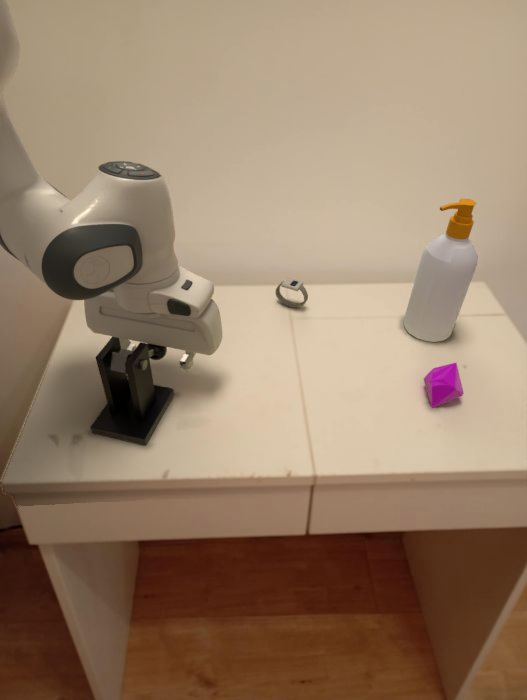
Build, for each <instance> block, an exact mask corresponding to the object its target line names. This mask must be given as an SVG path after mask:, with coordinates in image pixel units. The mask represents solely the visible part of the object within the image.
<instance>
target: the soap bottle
mask: <svg viewBox="0 0 527 700" xmlns="http://www.w3.org/2000/svg"><path fill="white" fill-rule="evenodd" d="M476 205H477V202H476V201H475V200H473V199H470V198H460V199H459V200H458V202H451V203H447V204H444V205H441V206H440V207H439V211H441V212H444V211H447V210H457V211H455V212H454V213H453V215H452V216H450V218H449V221H448V224H447V227H446V230H445V233H443V234H440V235H438V236H436V237H435V238H434V239H432V240H431V241H430V242H428V243H427V245H426V246H425V248H424V250H423V252H422V254H421V257H420V261H419V264H418V268H417V270H416V271H417V272H416V275H415V278H414V282H413V286H412V289H411V293H410V296H409V299H408V303H407V306H406V311H405V314H404V317H403V326H404V329H405V330H406V332H407V333H408V334H410V335H411V336H413V337H414V338H416V339H419V340H422V341H425V342H431V343H437V342H444V341H446V340H447V339H449V338H450V337H451V336H452V333H453V331H454V328H455V325H456V323H457V320H458V317H459V315H460V313H461V309H462V307H463V303H464V301H465V298H466V296H467V293H468V290H469V287H470V285H471V283H472V280H473V277H474V274H475V272H476V270H477V266H478V259H479V258H478V257H479V255H478V253H477V250H476V248H475V245H474V243H473V241H472V240H471V239H469V238H470V235H471V231H472V229H473V227H474V223H475V222H474V219H473V217H474V215H473V214H472V213H473V210H474V208H475V206H476Z"/></svg>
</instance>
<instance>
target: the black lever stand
mask: <svg viewBox="0 0 527 700" xmlns="http://www.w3.org/2000/svg"><path fill="white" fill-rule="evenodd" d="M117 350H121V345H120V341H119V338H116V337H112V336H111V338H110V339H109V340H107V342H106V344H105V345H104V346H103V347H102V349H101V350H100V351H99V352H98V354H96V356H95V363H96V366H97V369H98V374H99V377H100V380H101V384H102V389H103V393H104V396H105V399H106V404H105V406H104V407H103V409H102V410H101V411H100V412H99V414H98V416H97V417H96V418H95V420H94V421H93V423H91V425H90V430H91V431H90V432H91V433H92V434H97V435H100V436H105V437H109V438H113V439H117V440H122V441H126V442H130V443H134V444H138V445H141V446H142V445H143V446H146V445H147V444H148V442H149V440H150V439H151V437H152V435H153V433H154V432H155V430H156V427H157V426H158V424H159V423H160V421H161V419H162V417H163V415H164V414H165V412H166V410H167V409H168V407H169V405H170V403H171V402H172V400H173V398H174V396H175V388H171V387H167V386H162V385H158V384H155V383H154V378H153V377H154V376H153V371H152V366H151V359H150V358H149V353H148V347H147V343H144V342H138V344H137V345H136V349H135V350H134V352H133V353H132V354H131V356H130V357H129V358H128V360H127V361H126V363H125V367H126V372H127V373H122V372H118V371H113V370H110V366H111V356H112V352H114V351H117Z"/></svg>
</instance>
